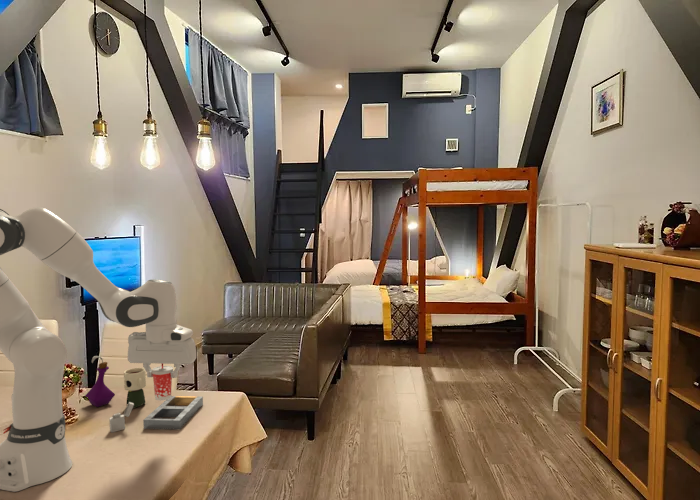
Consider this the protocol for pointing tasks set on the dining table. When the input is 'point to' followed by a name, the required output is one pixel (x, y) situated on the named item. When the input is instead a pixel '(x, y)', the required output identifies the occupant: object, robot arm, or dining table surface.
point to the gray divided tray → (173, 412)
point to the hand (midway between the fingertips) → (162, 377)
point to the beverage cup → (162, 382)
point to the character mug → (135, 385)
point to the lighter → (120, 419)
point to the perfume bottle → (100, 387)
